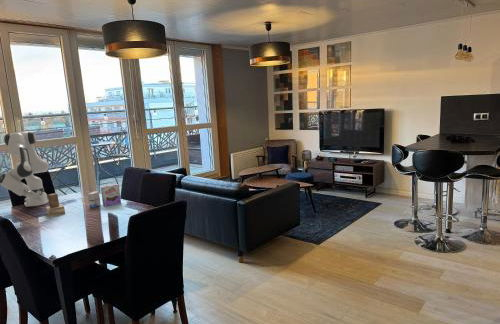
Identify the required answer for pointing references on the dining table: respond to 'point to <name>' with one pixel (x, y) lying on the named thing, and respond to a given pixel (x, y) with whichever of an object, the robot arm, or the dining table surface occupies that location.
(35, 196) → the robot arm
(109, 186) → the candy box
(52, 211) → the beech block
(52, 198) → the walnut pillar
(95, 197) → the ink box
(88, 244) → the dining table surface
